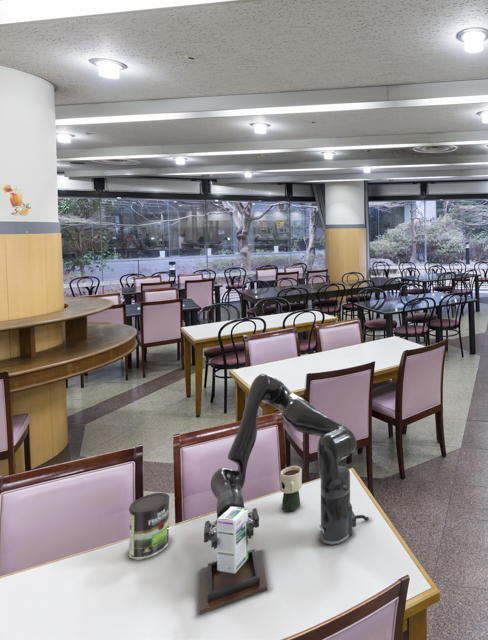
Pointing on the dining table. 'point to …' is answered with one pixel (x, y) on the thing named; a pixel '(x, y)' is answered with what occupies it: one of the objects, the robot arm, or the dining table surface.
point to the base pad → (231, 583)
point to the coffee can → (149, 525)
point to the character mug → (291, 487)
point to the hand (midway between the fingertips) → (233, 540)
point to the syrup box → (232, 539)
